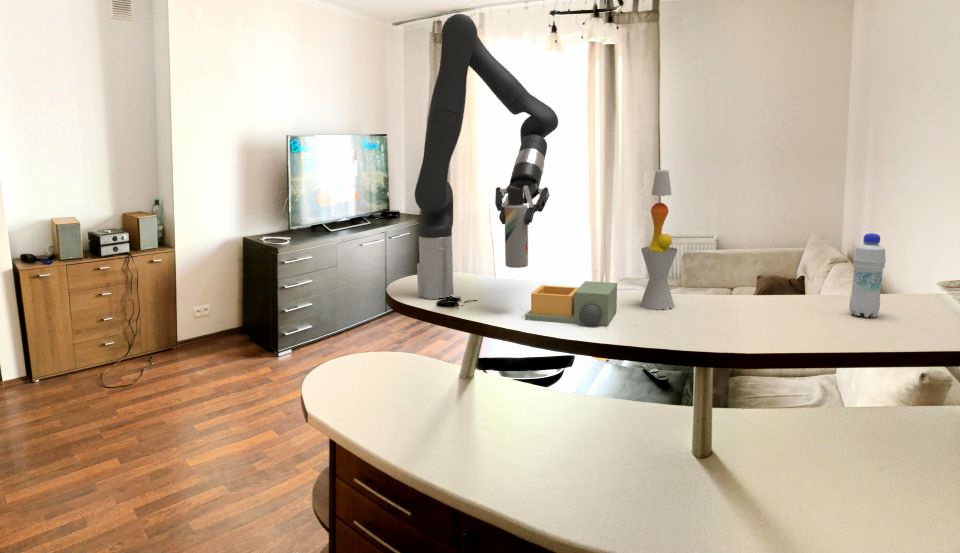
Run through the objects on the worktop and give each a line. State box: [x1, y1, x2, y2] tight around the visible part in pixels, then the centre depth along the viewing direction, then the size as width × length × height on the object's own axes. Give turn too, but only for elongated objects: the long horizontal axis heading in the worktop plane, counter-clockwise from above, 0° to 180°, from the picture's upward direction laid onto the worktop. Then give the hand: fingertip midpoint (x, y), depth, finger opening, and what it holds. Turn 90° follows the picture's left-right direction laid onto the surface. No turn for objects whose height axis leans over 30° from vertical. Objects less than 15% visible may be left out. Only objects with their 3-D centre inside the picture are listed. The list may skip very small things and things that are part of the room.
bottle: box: [849, 232, 887, 318], centre depth 156 cm, size 7×7×20 cm
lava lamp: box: [639, 169, 678, 310], centre depth 167 cm, size 9×9×35 cm
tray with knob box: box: [524, 280, 618, 328], centre depth 161 cm, size 20×16×8 cm
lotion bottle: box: [504, 185, 529, 269], centre depth 162 cm, size 6×6×20 cm
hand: (514, 222), depth 160 cm, fingers closed on lotion bottle, 5 cm apart
